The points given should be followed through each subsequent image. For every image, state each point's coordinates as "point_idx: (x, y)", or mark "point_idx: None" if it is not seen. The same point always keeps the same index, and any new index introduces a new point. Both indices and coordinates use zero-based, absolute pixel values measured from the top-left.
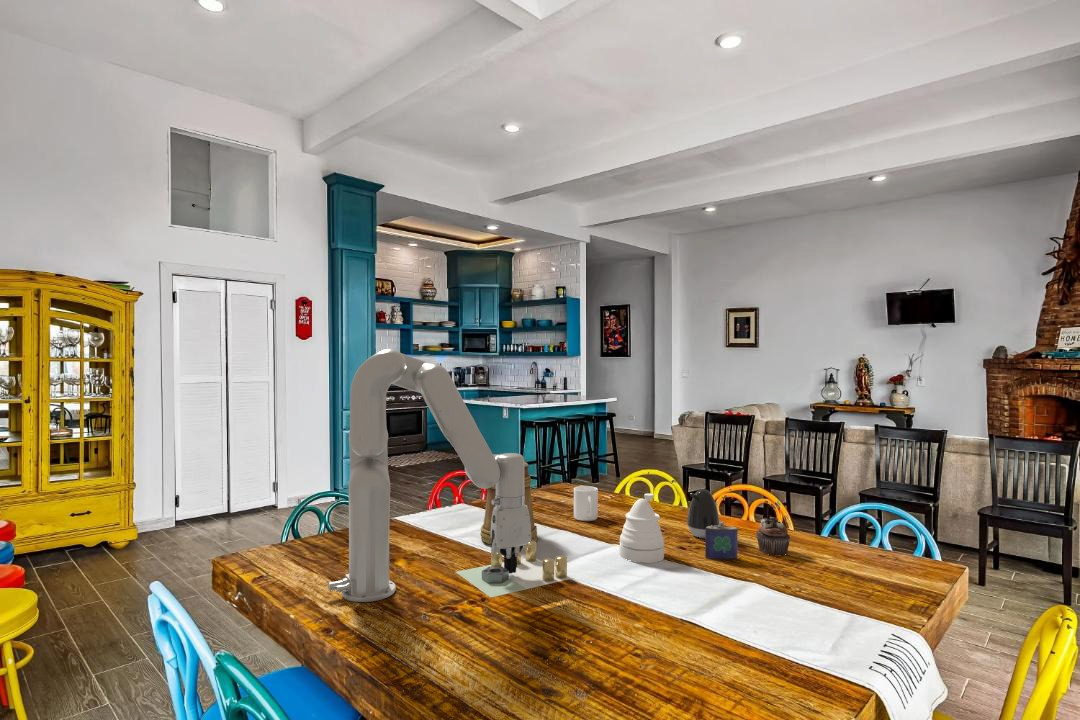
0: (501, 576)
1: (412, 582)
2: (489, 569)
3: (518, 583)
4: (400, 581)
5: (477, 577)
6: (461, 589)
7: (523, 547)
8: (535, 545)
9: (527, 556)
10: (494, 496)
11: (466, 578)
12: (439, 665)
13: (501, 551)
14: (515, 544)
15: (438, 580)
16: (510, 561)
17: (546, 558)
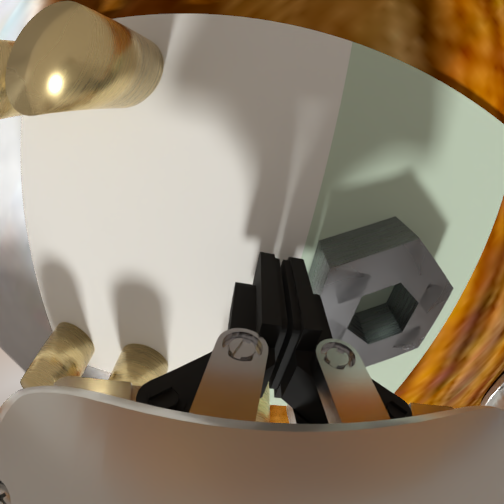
0: (416, 235)
1: (463, 392)
2: (384, 344)
3: (328, 142)
4: (464, 402)
5: None
6: (476, 299)
7: (126, 385)
8: (29, 371)
9: (82, 356)
10: None
11: (419, 354)
12: None
13: (409, 408)
14: (350, 453)
15: (436, 383)
16: (315, 316)
17: (27, 108)
